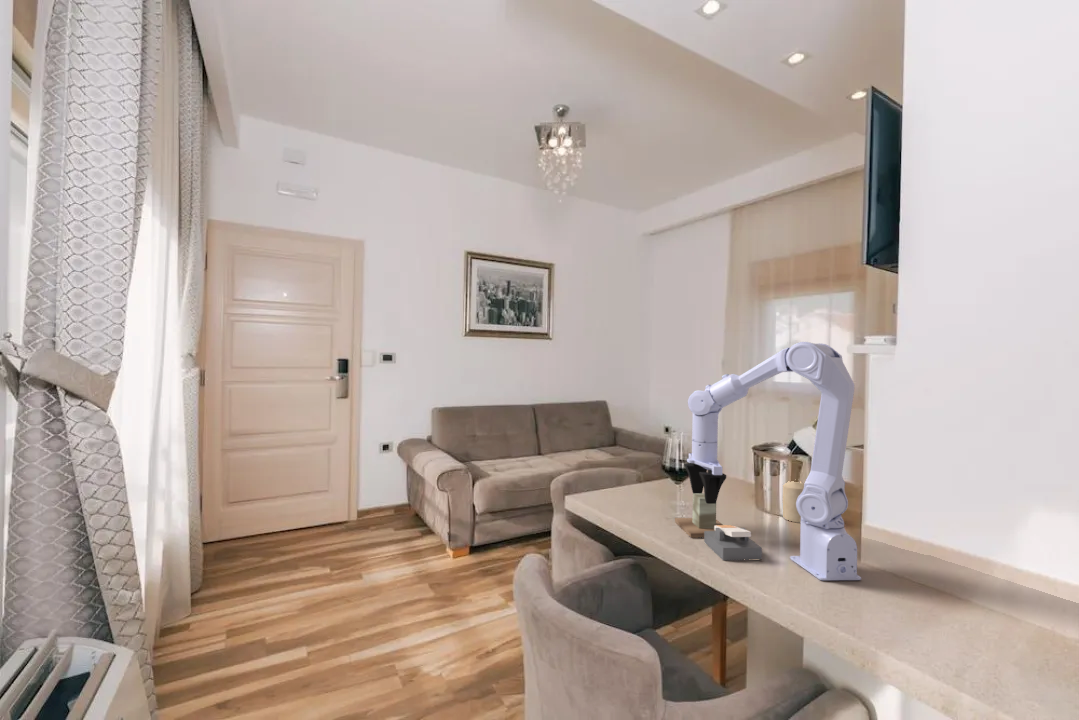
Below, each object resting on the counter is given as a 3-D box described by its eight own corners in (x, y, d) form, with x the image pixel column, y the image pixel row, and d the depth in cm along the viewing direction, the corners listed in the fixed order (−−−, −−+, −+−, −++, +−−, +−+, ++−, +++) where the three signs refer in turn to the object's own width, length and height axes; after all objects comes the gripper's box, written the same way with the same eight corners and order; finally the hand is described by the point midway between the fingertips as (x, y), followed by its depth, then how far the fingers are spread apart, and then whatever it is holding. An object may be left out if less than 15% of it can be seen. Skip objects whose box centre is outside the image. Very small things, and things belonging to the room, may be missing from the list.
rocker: (751, 536, 91) (750, 531, 91) (732, 536, 91) (731, 531, 91) (732, 530, 99) (731, 525, 99) (714, 530, 99) (714, 525, 99)
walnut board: (733, 537, 102) (733, 533, 102) (690, 537, 102) (690, 533, 102) (714, 522, 112) (714, 518, 112) (675, 522, 112) (675, 518, 112)
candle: (805, 524, 112) (806, 484, 112) (780, 519, 115) (781, 480, 115) (808, 518, 116) (808, 480, 116) (784, 514, 119) (784, 476, 119)
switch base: (761, 560, 91) (762, 537, 91) (723, 560, 90) (723, 537, 90) (739, 542, 100) (739, 521, 100) (704, 542, 99) (704, 521, 99)
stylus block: (715, 528, 105) (716, 498, 105) (699, 528, 105) (699, 498, 105) (708, 522, 109) (709, 493, 109) (692, 522, 109) (692, 493, 109)
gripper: (677, 435, 114) (676, 489, 114) (700, 446, 100) (700, 508, 100) (704, 436, 114) (703, 489, 114) (731, 446, 100) (731, 508, 100)
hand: (703, 498), depth 107 cm, fingers open, 7 cm apart
